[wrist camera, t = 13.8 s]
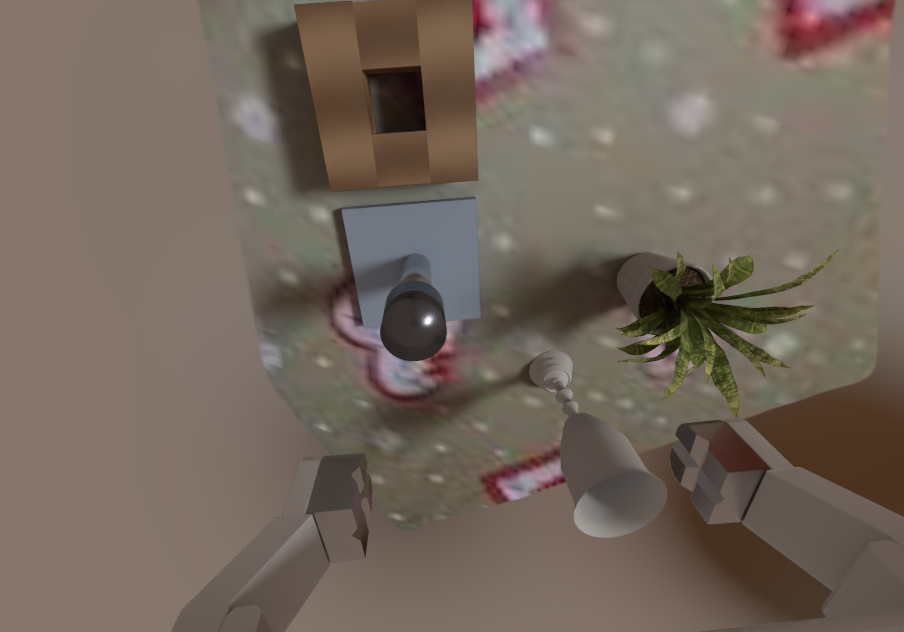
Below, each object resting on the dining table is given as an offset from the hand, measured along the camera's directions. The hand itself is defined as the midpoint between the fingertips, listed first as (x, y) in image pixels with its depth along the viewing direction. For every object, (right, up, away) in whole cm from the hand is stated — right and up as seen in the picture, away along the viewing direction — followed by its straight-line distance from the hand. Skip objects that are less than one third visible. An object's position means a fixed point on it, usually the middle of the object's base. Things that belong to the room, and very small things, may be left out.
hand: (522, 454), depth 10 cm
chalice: (+10, -3, +36) cm, 37 cm away
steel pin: (-5, +8, +28) cm, 29 cm away
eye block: (-6, +21, +22) cm, 31 cm away
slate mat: (-5, +9, +29) cm, 30 cm away
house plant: (+18, +9, +30) cm, 36 cm away
